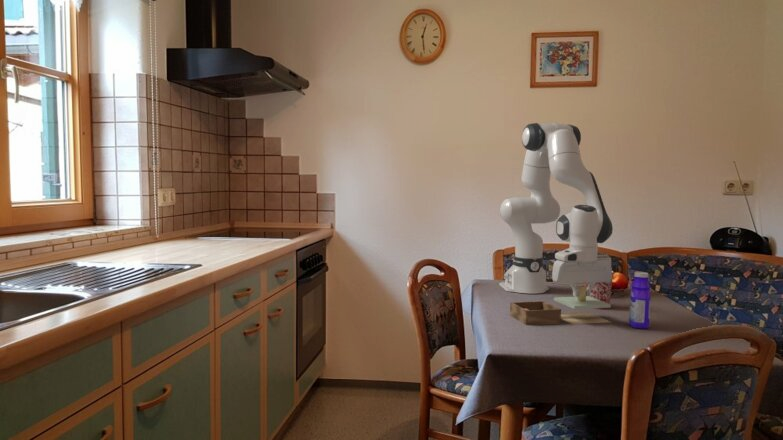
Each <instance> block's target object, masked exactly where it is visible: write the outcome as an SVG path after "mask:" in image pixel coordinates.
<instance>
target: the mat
mask: <svg viewBox="0 0 783 440" xmlns="http://www.w3.org/2000/svg"><path fill="white" fill-rule="evenodd" d="M561 320H562V321H564V322H566V323H569V324H571V325H588V324H610V325H611V324H613V323H612V321H609V320H607V319H605V318H602V317H601V316H597V315H595V314H593V313H591V312H589V311H584V312H583V311H582V312H581V311H579V312H561Z"/></svg>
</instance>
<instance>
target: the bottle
mask: <svg viewBox="0 0 783 440" xmlns="http://www.w3.org/2000/svg"><path fill="white" fill-rule="evenodd" d="M633 275H634V276H633V281H632V283H631V284H630V286H631V289H630V293H629V299H630V300H629V317H628V321H629V322H628V323H629V325H630V326H631V327H632V328H635V329H648V328H649V327H650V318H651V317H650V315H651V297H652V296H651V291H650V289H651V285H650V283H649V273H648V272H644V271H635V272H634V274H633Z"/></svg>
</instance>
